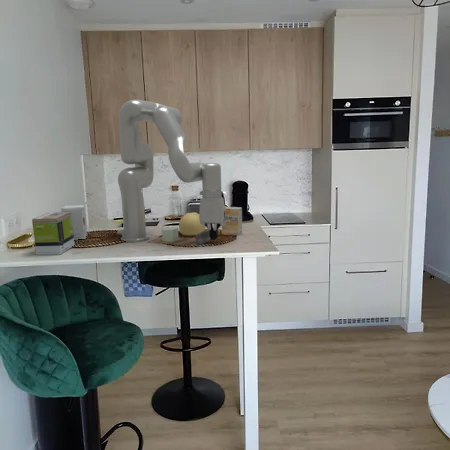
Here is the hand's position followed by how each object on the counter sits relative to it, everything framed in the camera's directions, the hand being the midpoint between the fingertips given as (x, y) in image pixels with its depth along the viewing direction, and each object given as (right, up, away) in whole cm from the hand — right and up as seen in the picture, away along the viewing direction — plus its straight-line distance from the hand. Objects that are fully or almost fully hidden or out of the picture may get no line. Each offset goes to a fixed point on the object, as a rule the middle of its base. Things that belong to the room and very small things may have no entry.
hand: (213, 239), depth 173 cm
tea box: (-64, -5, -1) cm, 64 cm away
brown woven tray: (-15, -2, +6) cm, 16 cm away
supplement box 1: (-63, -1, +21) cm, 67 cm away
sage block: (-18, -1, +7) cm, 20 cm away
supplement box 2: (+8, +1, +18) cm, 19 cm away
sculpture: (-10, +1, +21) cm, 23 cm away
